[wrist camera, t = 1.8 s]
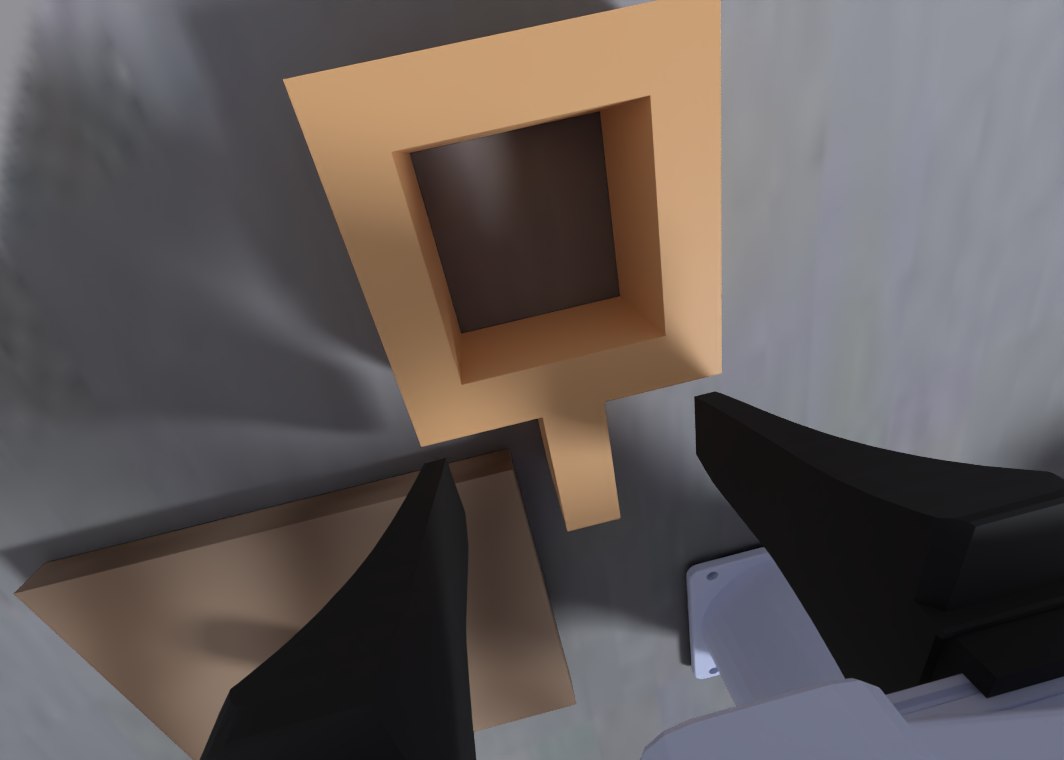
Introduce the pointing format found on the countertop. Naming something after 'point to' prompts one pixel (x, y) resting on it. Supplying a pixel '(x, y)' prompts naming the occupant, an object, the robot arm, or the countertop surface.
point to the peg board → (297, 600)
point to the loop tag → (636, 209)
